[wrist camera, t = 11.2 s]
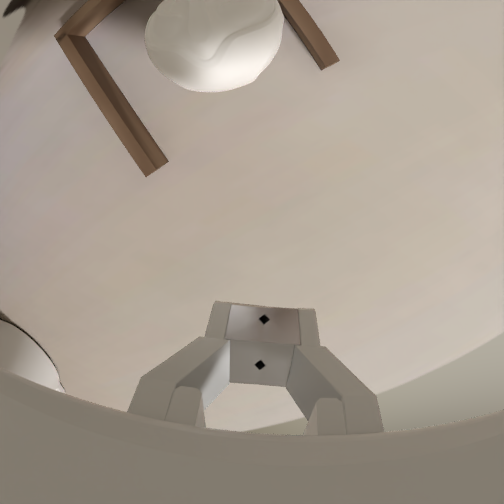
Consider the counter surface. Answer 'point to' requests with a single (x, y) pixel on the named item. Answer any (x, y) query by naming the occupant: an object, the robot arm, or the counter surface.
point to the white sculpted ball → (213, 41)
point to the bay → (112, 98)
